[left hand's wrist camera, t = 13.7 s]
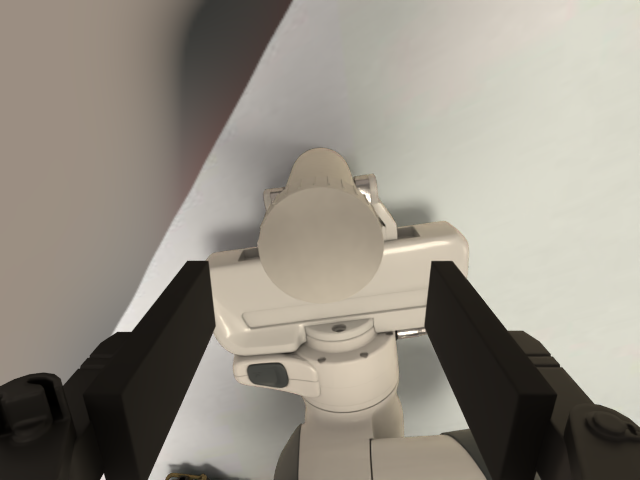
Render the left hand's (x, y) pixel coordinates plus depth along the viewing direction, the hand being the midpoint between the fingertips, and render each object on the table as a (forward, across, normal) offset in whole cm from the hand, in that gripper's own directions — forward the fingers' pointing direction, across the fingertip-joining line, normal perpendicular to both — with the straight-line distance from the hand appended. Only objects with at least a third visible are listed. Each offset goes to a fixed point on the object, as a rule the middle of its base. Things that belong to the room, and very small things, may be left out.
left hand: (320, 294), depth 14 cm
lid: (+5, 0, 0) cm, 5 cm away
